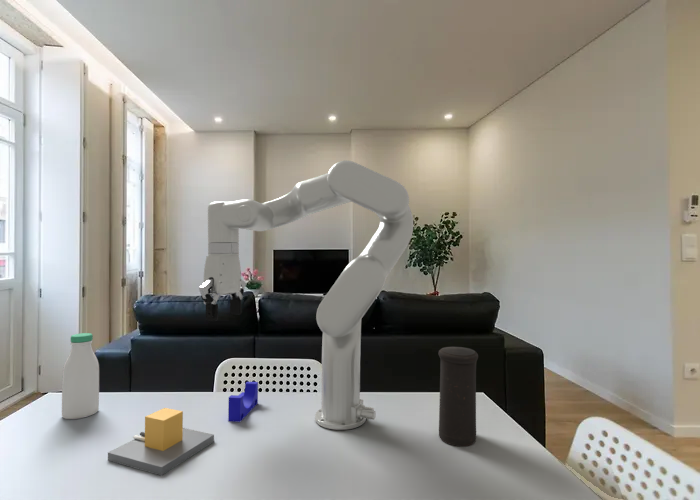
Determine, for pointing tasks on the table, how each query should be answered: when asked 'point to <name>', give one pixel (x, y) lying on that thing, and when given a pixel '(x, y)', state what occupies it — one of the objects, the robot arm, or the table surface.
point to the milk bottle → (80, 379)
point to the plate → (160, 452)
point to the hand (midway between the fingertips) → (224, 317)
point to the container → (457, 396)
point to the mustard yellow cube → (163, 428)
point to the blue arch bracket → (243, 402)
